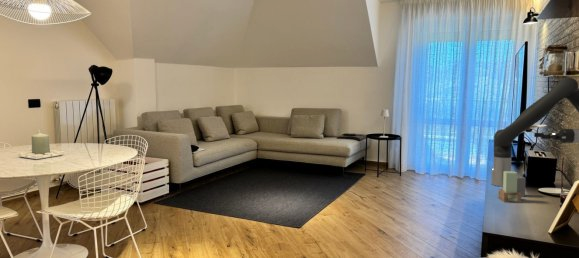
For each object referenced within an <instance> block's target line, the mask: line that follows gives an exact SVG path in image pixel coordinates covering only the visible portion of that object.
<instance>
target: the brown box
mask: <svg viewBox="0 0 579 258" xmlns="http://www.w3.org/2000/svg"><path fill="white" fill-rule="evenodd" d="M497 192H498V193H497V194H498V195H497V197H498V198H497V199H499V200H500V201H501V202H502V203H514V204H515V203H517V204H518V203H522V197H521V193H520V192H518V191H517V193H510V192H505V191H504V190H503V188H498V191H497Z"/></svg>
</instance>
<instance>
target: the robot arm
mask: <svg viewBox="0 0 579 258" xmlns="http://www.w3.org/2000/svg"><path fill="white" fill-rule="evenodd" d="M563 99H566V100H567V101H569V103H570V104H572V106H573V107H574V108H575V110H576V111H577V112H578V113H579V82H578V81H577V79H575V78H573V77H566V78H562V79H561V80H560V81H559V82H558V83H556V84H555V86H554V87H553V88H551V90H549V91H548V92H547V93H545V94H544V95H543V96H541V97H540V98H539V99H537V100H536V101H534V102H533V103H532V104H531V105H529V106H528V107H526V109H524V110H523V111H522V112H521V113H520V114H519V116H517V117H516V118H515V120H514V121H513V122H512V123H511V124H509V125H508V126H506V127H504V128H502V129H498V130H497V131H496V132H494V135H493V166H492V167H493V168H492V169H491V181H490V182H491V185H493V186H496V187H502V188H503V173H504V171H512V153H513V152H512V143H513V141H515V139H517V137H519V136H520V135H521V134H522V133H523V132H525V131H526V130H528V129H529V128H531V127H532V126H534V125H535V124H537V123H538V122H539V121H541V120H543V118H544V117H546V116H547V115H548V114H549V113H550V112H551V111H552V110H553V108H554V107H555V106H556V105H557V104H558V103H559V102H560V101H562V100H563ZM533 136H534V137H535V138H541V139H542V140H551V141H559V142H560V143H562V144H579V128H561V129H560V130H559V132H558V131H544V132H543V131H542V132H534V134H533Z"/></svg>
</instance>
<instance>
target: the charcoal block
mask: <svg viewBox="0 0 579 258" xmlns="http://www.w3.org/2000/svg"><path fill="white" fill-rule="evenodd" d="M517 191H518V192H520V193H521V198H525V197H526V178H525V177H524V176H521V175H520V176H519V175H517Z"/></svg>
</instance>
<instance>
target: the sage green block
mask: <svg viewBox="0 0 579 258" xmlns="http://www.w3.org/2000/svg"><path fill="white" fill-rule="evenodd" d="M517 176H518V172H517V171H512V170H511V171H504V173H503V187H502V189H503V190H504V191H505V192H510V193H517Z"/></svg>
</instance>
